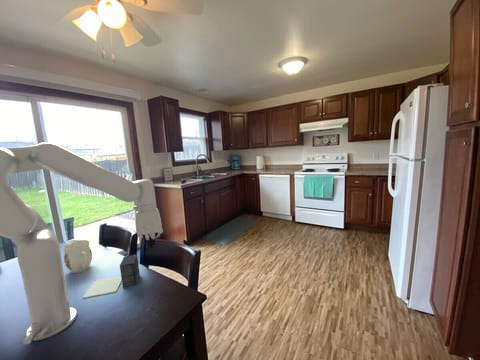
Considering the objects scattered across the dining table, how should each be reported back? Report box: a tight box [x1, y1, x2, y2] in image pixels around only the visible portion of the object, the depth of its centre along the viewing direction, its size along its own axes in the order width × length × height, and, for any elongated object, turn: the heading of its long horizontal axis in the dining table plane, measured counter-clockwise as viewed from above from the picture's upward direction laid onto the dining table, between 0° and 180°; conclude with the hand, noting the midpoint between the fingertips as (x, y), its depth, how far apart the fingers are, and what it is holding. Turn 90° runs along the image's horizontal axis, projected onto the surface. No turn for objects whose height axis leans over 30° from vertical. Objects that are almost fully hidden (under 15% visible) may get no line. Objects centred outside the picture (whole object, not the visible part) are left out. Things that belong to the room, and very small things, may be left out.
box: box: [119, 254, 141, 289], centre depth 91 cm, size 8×6×11 cm
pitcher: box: [62, 239, 93, 274], centre depth 103 cm, size 11×18×14 cm, turn 57°
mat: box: [82, 275, 122, 299], centre depth 89 cm, size 12×12×1 cm
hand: (152, 246), depth 93 cm, fingers closed
